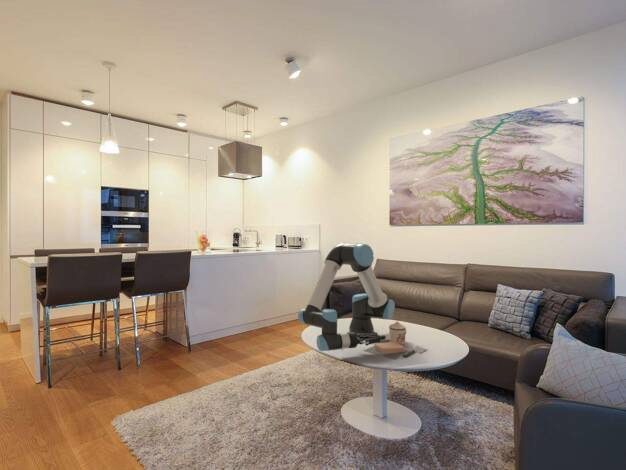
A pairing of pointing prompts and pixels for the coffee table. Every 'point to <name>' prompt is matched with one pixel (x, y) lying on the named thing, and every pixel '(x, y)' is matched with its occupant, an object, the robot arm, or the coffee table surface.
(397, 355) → the mat
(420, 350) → the turner
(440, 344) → the coffee table surface
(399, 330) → the teacup with lid
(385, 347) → the tile
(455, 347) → the coffee table surface
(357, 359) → the coffee table surface
